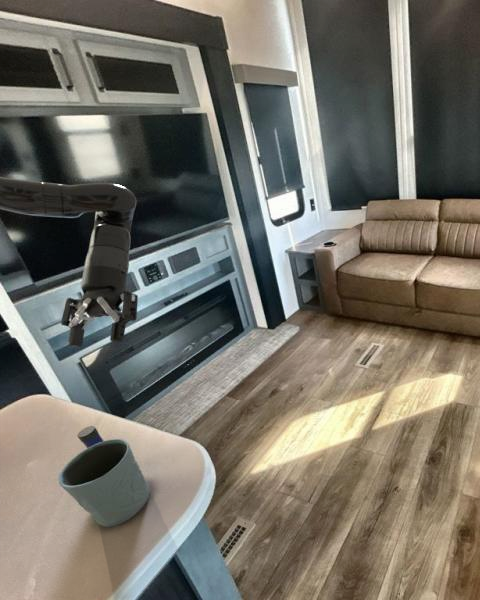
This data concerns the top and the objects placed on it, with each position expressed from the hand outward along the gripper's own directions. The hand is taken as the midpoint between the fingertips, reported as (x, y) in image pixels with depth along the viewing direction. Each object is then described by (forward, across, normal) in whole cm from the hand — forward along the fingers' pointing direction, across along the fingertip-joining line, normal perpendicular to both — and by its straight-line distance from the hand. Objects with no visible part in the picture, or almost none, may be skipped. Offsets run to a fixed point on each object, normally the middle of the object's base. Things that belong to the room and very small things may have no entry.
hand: (95, 343), depth 75 cm
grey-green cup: (+31, +7, +4) cm, 32 cm away
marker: (+26, 0, +9) cm, 27 cm away
